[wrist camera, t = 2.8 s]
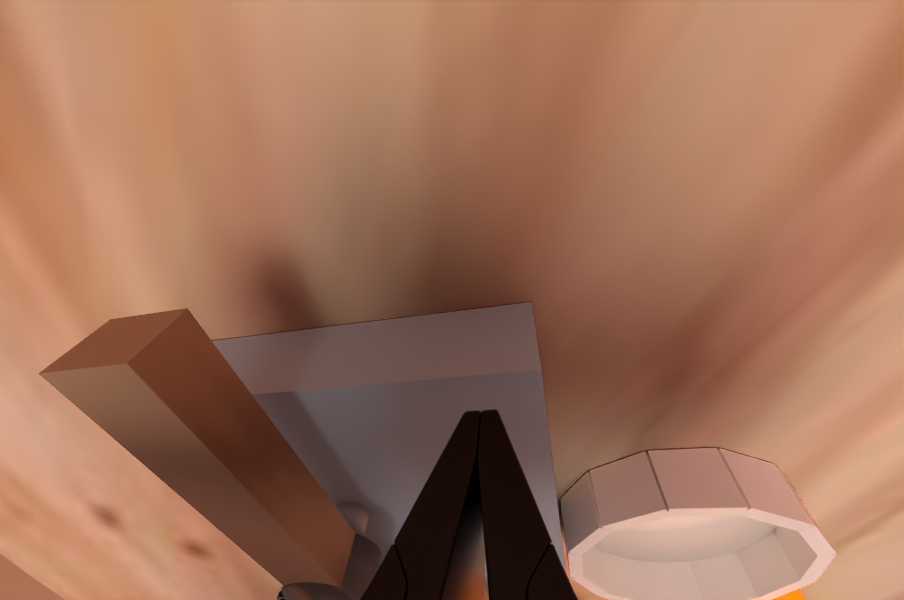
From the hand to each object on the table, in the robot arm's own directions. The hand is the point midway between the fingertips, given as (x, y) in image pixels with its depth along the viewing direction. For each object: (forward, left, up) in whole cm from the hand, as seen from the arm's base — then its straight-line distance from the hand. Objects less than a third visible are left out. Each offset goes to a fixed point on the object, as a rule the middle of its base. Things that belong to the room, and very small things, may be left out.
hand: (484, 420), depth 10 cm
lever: (-7, +6, 0) cm, 9 cm away
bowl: (-13, -7, -4) cm, 15 cm away
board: (-7, +5, -4) cm, 10 cm away
